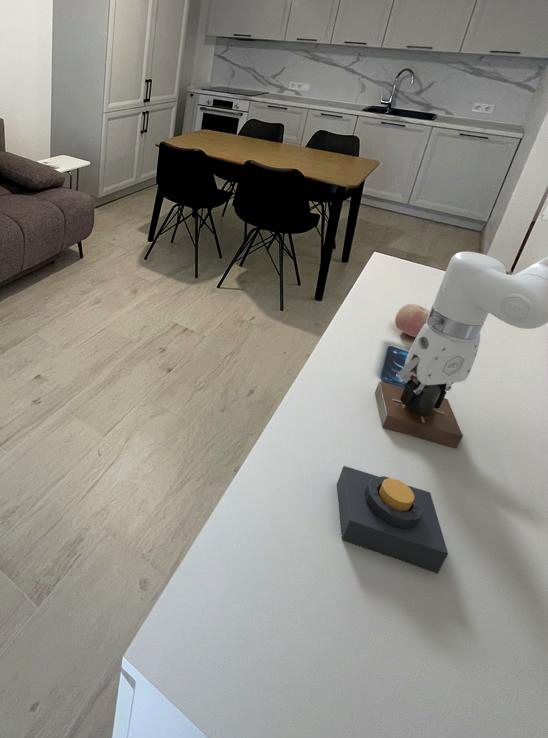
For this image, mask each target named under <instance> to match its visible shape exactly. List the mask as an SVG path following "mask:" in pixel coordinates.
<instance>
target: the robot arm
mask: <svg viewBox="0 0 548 738" xmlns="http://www.w3.org/2000/svg"><path fill="white" fill-rule="evenodd" d="M429 312H430V313H429V315H428V318H427V320H426V324H424V326H423V327H422V329H421V330H420V332H419V333H418V335H417V337H416V338H415V339H414V341H413V343H412V345H411V347H410V348H409V351H408V352H409V353H408V355H407V358H406V361H405V366H404V368H403V369H402V370H401V371H400V372H399V373H398V374H397V377H399V378H400V379H401V380H402V381H403V382H404V384H405V385H406V386H405V388H404V391H403V393H402V396H401V398H400V400H401V402H402V403H403V404H404V405H406V406H407V407H408V408H409V409H410V410H411V411H412V412H413V411H416V410H417V407H418V405H419V402H420V400H421V398H422V394H421V391H422V390H423V388H424V387H425V385H436V384H437V385H438V386H439V387H440V388H441V393H440V395H439V397H438V400H437V402H436V404H435V408H440V406H441V404H442V402H443V399H444V398H445V397H446V395H447V392H449V391H450V390H452V387H453V384H455V383H460V382H463V381H466V380H467V378H468V377H469V374H470V373H471V370H472V368H473V366H474V363H475V360H476V357H477V354H478V350H479V347H480V343H481V342H480V341H481V331H482V330H483V329H482V328H483V327H484V324H485V322H486V321H487V320H486V319H487V318H488V316H489V314H490V315H492V316H493V317H494V318H497V319H498V320H500V321H501V322H504V323H505V324H507V325H510V326H512V327H515V328H518V329H525V330H531V329H532V330H533V329H537V328H540V327H543V326H545V325H546V324H548V256H546V257H544V258H542V259H540V260H539V261H537V262H535V263H533V264H531V265H530V266H528V267H526V268H524V269H523V270H521V271H519V272H517V273H516V274H508V273H507V269H506V266H505V265H504V264H503V263H502V262H501V261H499V260H498V259H496V258H494V257H491V256H489V255H487V254H483V253H480V252H474V251H459V252H456V253H454V255H453V256H452V257H451V258H450V260H449V262H448V265H447V267H446V270H445V271H444V274H443V277H442V280H441V282H440V285H439V287H438V290H437V292H436V295H435V298H434V301H433V303H432V306H431V308H430V310H429ZM415 377H416V378H417V379H418V380H419V382H418V384H417V385H416V383H415V382H414V379H415Z"/></svg>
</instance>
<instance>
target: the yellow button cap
mask: <svg viewBox="0 0 548 738" xmlns="http://www.w3.org/2000/svg"><path fill="white" fill-rule="evenodd" d="M407 485H408V484H406V483H404V482H403V481H401V480H399V479H397V478H392V477H388V479H385V480H384V481H383V483H382V485H381V488H380V490H379V494H380V497H381V499H382V500H383V501H384V503H385V504H387V505H388V506H390V507H391V508H393V509H395V510H398V511H408V510H409V509H410V507H411V505H412V503H413V501H414V494H413V492H412V490H411V489H410V488H409V487H408V486H409V485H408V486H407Z"/></svg>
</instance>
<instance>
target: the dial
mask: <svg viewBox="0 0 548 738" xmlns="http://www.w3.org/2000/svg"><path fill="white" fill-rule="evenodd" d="M414 382H415V383H416V385H417V384H418V382H419V380H418V379H417V378H415V379H414ZM440 393H441V388H440V387H439V386H438V385H437V384H436V385H425V387H424V388H423V390H422V391H421V394H422V398H421V400H420V402H419V405H418V407H417V410H416V411H414V412H416V413H418V414H422V415H430V414H431V413H432V411H433V409H434V407H435V404H436V402H437V400H438V397H439V395H440Z"/></svg>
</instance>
